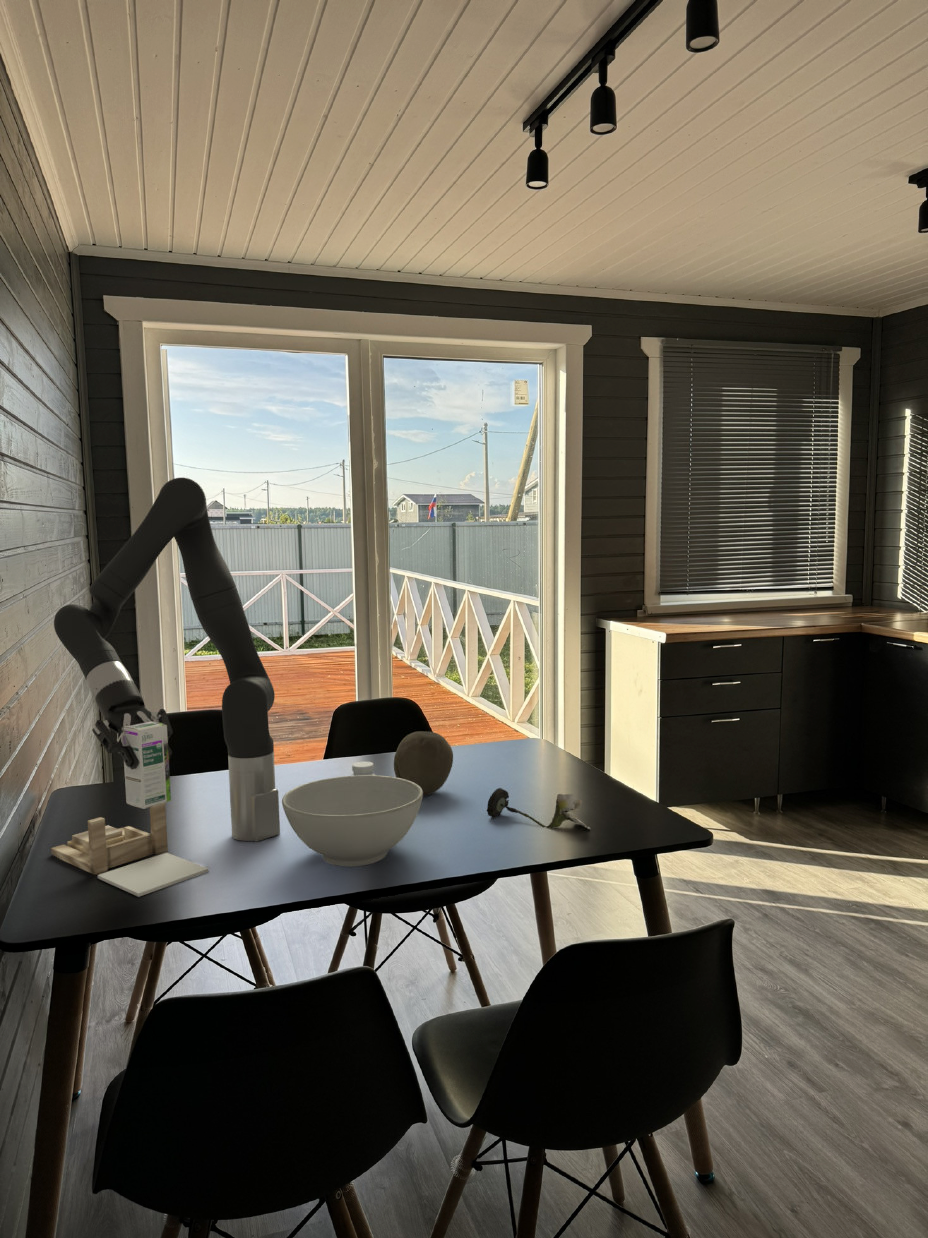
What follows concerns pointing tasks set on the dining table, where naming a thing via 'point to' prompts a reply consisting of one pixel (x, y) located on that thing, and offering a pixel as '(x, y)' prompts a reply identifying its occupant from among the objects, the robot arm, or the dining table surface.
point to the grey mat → (152, 874)
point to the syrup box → (148, 765)
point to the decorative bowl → (353, 816)
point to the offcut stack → (77, 840)
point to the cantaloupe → (424, 760)
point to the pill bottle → (363, 768)
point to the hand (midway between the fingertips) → (151, 762)
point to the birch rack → (117, 844)
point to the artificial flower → (562, 807)
